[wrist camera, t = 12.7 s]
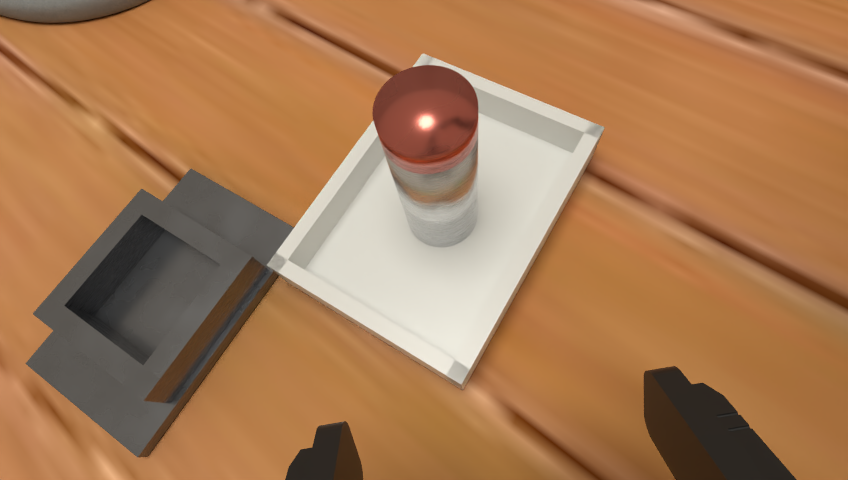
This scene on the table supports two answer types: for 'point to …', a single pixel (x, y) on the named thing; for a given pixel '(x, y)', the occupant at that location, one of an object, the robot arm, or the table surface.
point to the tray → (441, 266)
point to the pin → (432, 150)
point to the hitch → (156, 306)
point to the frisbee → (63, 9)
